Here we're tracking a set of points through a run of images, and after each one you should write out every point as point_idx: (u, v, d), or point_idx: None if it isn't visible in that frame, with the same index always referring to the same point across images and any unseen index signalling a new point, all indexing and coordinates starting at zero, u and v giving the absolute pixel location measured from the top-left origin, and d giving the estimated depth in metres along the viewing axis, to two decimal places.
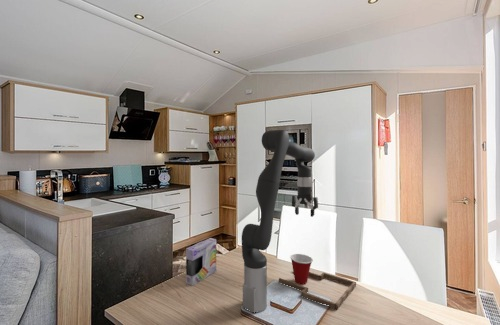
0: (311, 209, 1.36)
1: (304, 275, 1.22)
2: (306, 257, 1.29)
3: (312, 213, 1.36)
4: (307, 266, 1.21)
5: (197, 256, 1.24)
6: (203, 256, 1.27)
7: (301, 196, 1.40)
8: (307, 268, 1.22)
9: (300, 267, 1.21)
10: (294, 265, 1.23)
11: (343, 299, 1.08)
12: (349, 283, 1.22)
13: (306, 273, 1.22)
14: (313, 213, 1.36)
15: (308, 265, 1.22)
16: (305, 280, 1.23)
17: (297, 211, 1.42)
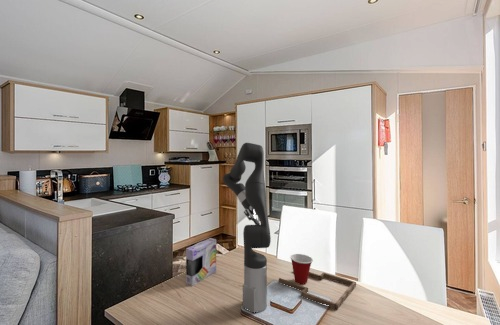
0: None
1: (304, 275, 1.22)
2: (306, 257, 1.29)
3: None
4: (307, 266, 1.21)
5: (197, 256, 1.24)
6: (203, 256, 1.27)
7: (252, 207, 1.43)
8: (307, 268, 1.22)
9: (300, 267, 1.21)
10: (294, 265, 1.23)
11: (343, 299, 1.08)
12: (349, 283, 1.22)
13: (306, 273, 1.22)
14: None
15: (308, 265, 1.22)
16: (305, 280, 1.23)
17: None
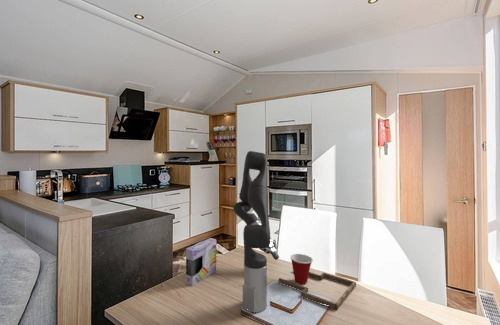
0: (275, 250, 1.36)
1: (304, 275, 1.22)
2: (306, 257, 1.29)
3: None
4: (307, 266, 1.21)
5: (197, 256, 1.24)
6: (203, 256, 1.27)
7: None
8: (307, 268, 1.22)
9: (300, 267, 1.21)
10: (294, 265, 1.23)
11: (343, 299, 1.08)
12: (349, 283, 1.22)
13: (306, 273, 1.22)
14: (277, 254, 1.36)
15: (308, 265, 1.22)
16: (305, 280, 1.23)
17: None
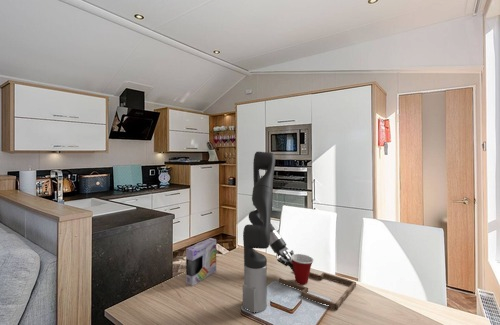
0: None
1: (304, 275, 1.22)
2: (307, 257, 1.29)
3: None
4: (308, 266, 1.21)
5: (197, 256, 1.24)
6: (203, 256, 1.27)
7: (282, 250, 1.31)
8: (308, 268, 1.22)
9: (301, 268, 1.21)
10: (295, 265, 1.23)
11: (343, 299, 1.08)
12: (349, 283, 1.22)
13: (307, 273, 1.22)
14: None
15: (309, 265, 1.21)
16: (306, 280, 1.23)
17: None
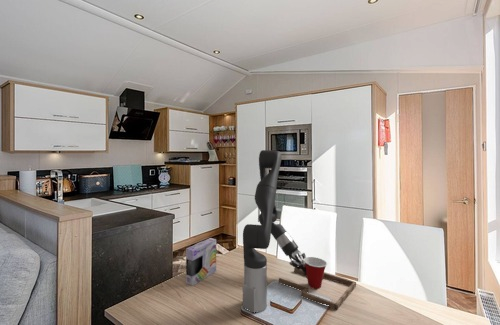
0: None
1: (318, 279, 1.18)
2: (319, 260, 1.25)
3: None
4: (321, 270, 1.17)
5: (197, 256, 1.24)
6: (203, 256, 1.27)
7: (294, 253, 1.27)
8: (321, 272, 1.18)
9: (314, 271, 1.17)
10: (308, 269, 1.19)
11: (343, 299, 1.08)
12: (349, 283, 1.22)
13: (320, 277, 1.18)
14: None
15: (322, 269, 1.18)
16: (319, 284, 1.19)
17: None
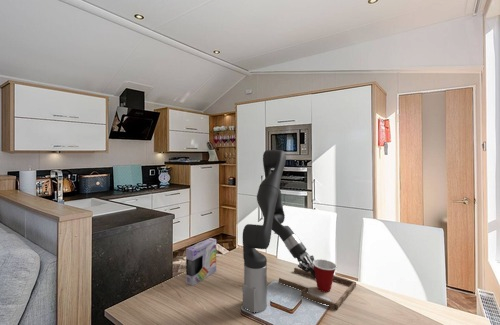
0: None
1: (328, 283, 1.15)
2: (329, 263, 1.22)
3: None
4: (331, 273, 1.14)
5: (197, 256, 1.24)
6: (203, 256, 1.27)
7: (302, 255, 1.24)
8: (331, 275, 1.15)
9: (324, 274, 1.14)
10: (317, 272, 1.16)
11: (343, 299, 1.08)
12: (349, 283, 1.22)
13: (330, 280, 1.15)
14: None
15: (332, 272, 1.15)
16: (329, 288, 1.16)
17: None
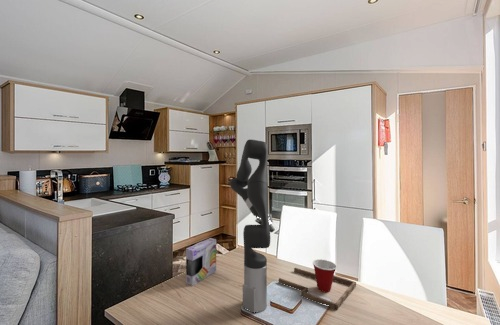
0: (270, 223, 1.37)
1: (328, 283, 1.15)
2: (329, 263, 1.22)
3: (272, 227, 1.37)
4: (331, 273, 1.14)
5: (197, 256, 1.24)
6: (203, 256, 1.27)
7: None
8: (331, 275, 1.15)
9: (324, 274, 1.14)
10: (317, 272, 1.16)
11: (343, 299, 1.08)
12: (349, 283, 1.22)
13: (330, 280, 1.15)
14: (273, 227, 1.37)
15: (332, 272, 1.15)
16: (329, 288, 1.16)
17: None
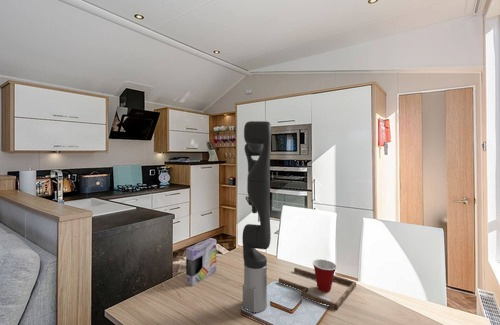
0: None
1: (328, 283, 1.15)
2: (329, 263, 1.22)
3: (256, 209, 1.37)
4: (331, 273, 1.14)
5: (197, 256, 1.24)
6: (203, 256, 1.27)
7: None
8: (331, 275, 1.15)
9: (324, 274, 1.14)
10: (317, 272, 1.16)
11: (343, 299, 1.08)
12: (349, 283, 1.22)
13: (330, 280, 1.15)
14: None
15: (332, 272, 1.15)
16: (329, 288, 1.16)
17: None
